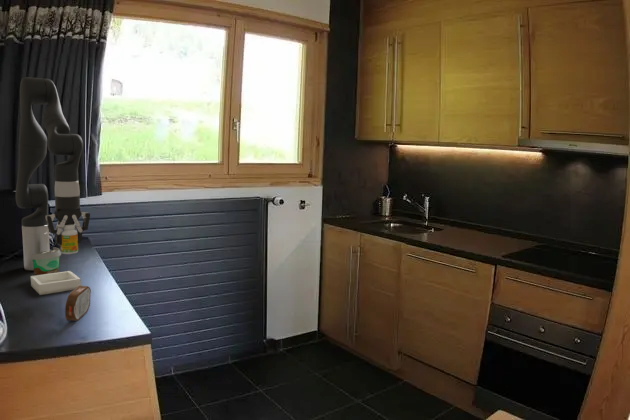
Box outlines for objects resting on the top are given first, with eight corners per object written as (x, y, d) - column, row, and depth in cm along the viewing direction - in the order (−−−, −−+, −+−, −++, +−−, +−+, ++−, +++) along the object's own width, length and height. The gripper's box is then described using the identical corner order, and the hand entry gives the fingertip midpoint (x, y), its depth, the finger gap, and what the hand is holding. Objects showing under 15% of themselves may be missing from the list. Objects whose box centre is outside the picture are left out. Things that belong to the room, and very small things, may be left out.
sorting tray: (31, 285, 189) (30, 276, 188) (70, 280, 197) (69, 270, 196) (39, 295, 179) (39, 284, 178) (80, 288, 187) (80, 278, 186)
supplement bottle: (61, 254, 178) (60, 226, 176) (60, 251, 183) (59, 223, 181) (78, 253, 180) (78, 225, 179) (77, 250, 185) (76, 222, 184)
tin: (82, 308, 167) (81, 281, 166) (93, 308, 167) (92, 281, 166) (64, 325, 152) (62, 296, 151) (75, 325, 152) (74, 296, 151)
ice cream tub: (47, 282, 194) (45, 254, 192) (32, 280, 195) (30, 253, 194) (69, 273, 206) (68, 247, 204) (54, 272, 207) (53, 246, 206)
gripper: (86, 191, 186) (87, 239, 188) (40, 194, 177) (43, 244, 179) (93, 194, 180) (94, 243, 183) (46, 197, 171) (48, 248, 174)
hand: (69, 243), depth 181 cm, fingers closed on supplement bottle, 5 cm apart
